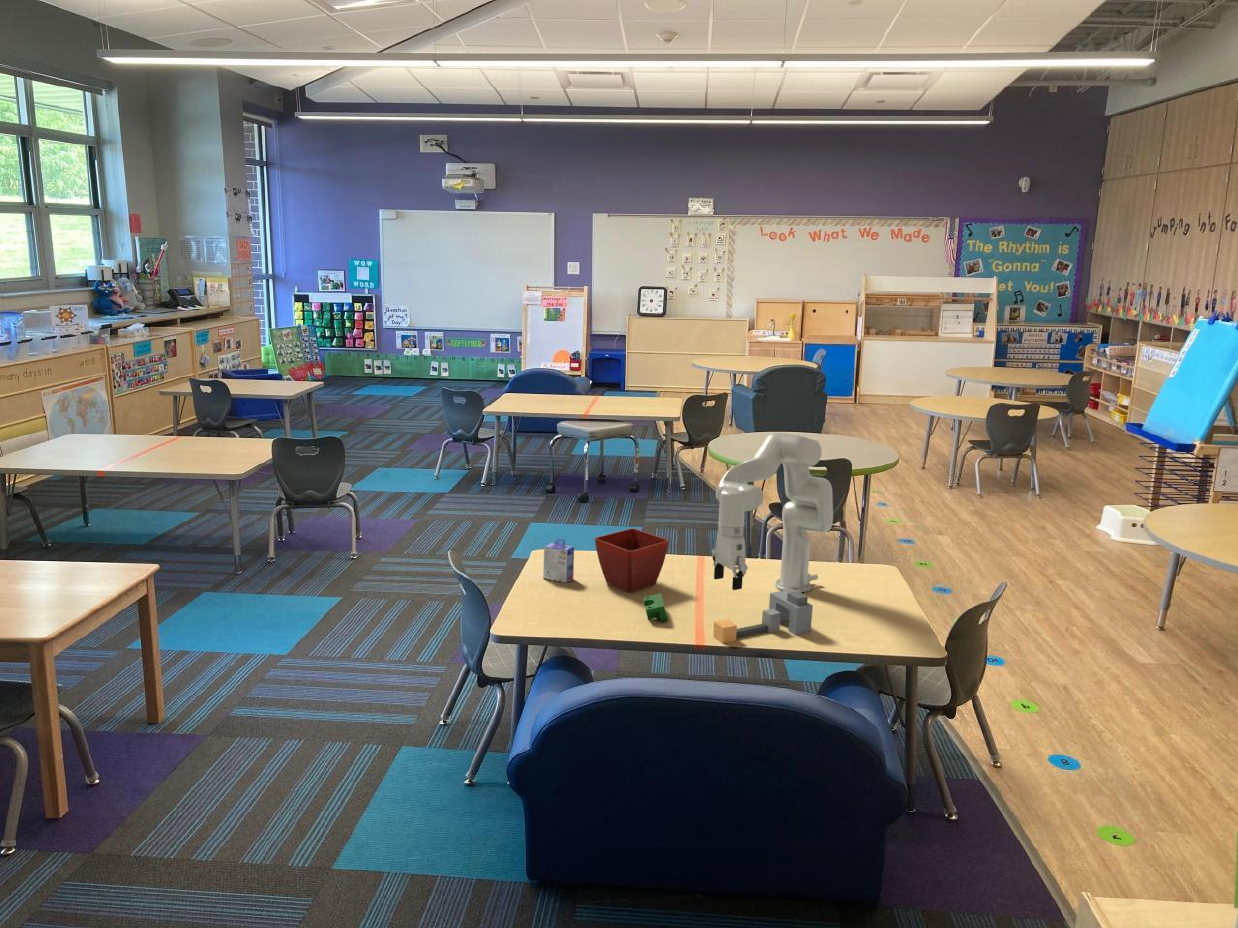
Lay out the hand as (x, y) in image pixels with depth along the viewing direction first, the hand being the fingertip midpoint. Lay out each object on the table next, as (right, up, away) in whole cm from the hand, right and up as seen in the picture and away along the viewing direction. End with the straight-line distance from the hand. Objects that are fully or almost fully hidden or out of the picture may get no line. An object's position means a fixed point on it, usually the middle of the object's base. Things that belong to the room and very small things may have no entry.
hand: (727, 583), depth 282 cm
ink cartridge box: (-55, -5, +51) cm, 75 cm away
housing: (+21, -15, +16) cm, 31 cm away
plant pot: (-29, -6, +48) cm, 56 cm away
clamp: (-21, -13, +20) cm, 32 cm away
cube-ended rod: (+7, -17, +8) cm, 20 cm away
